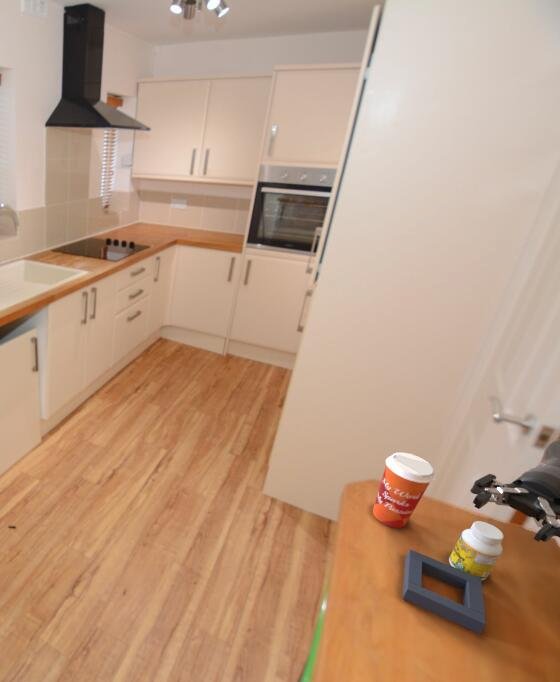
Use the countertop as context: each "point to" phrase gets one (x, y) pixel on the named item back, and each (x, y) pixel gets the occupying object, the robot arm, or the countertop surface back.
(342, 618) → the countertop surface
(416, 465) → the paper cup
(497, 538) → the supplement bottle
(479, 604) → the bottle holder
